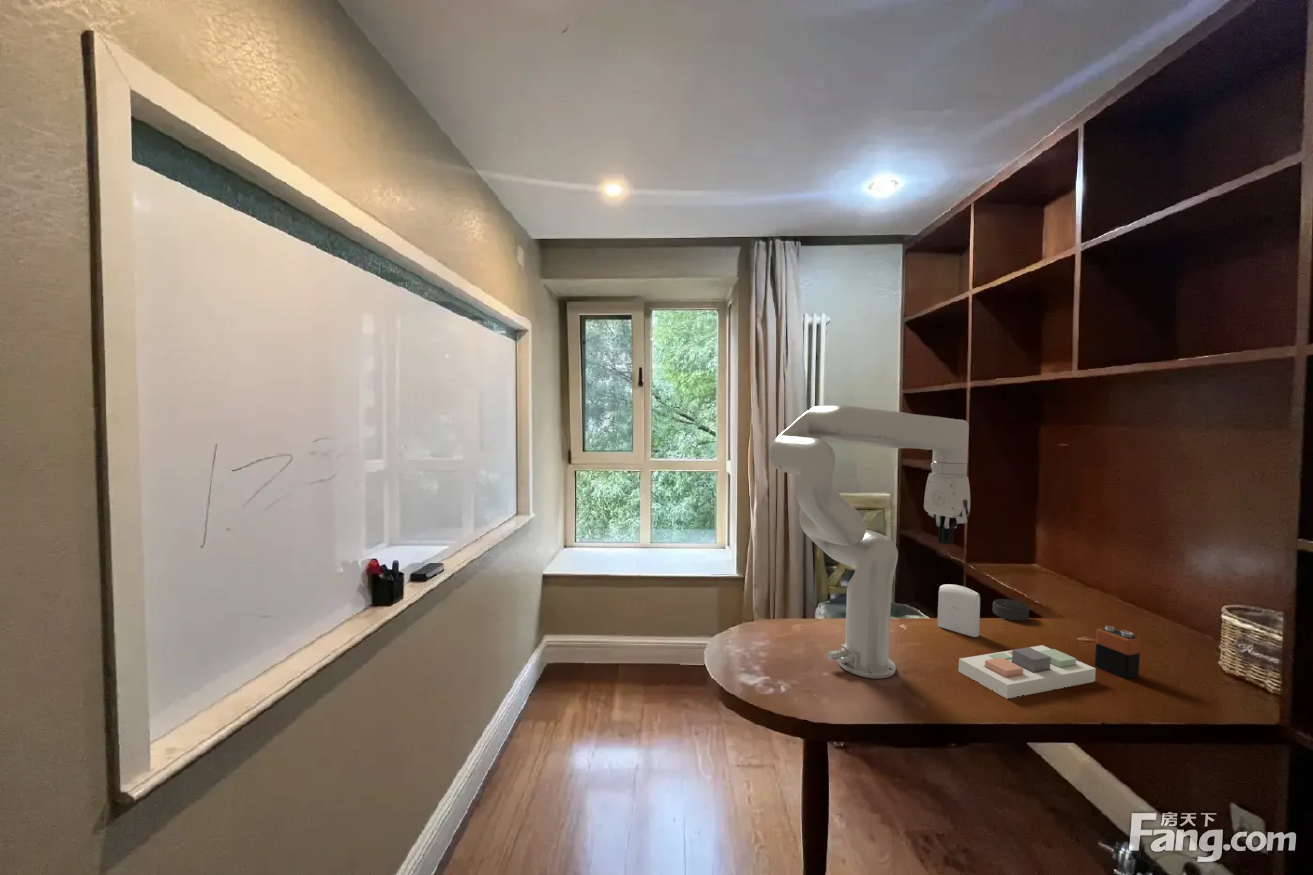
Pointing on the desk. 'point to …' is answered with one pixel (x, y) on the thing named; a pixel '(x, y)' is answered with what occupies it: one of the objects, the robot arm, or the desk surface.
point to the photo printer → (959, 609)
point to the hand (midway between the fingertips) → (945, 542)
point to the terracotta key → (1004, 667)
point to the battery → (1117, 652)
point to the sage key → (1059, 658)
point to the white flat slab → (1025, 675)
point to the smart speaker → (1010, 610)
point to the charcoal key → (1031, 660)
